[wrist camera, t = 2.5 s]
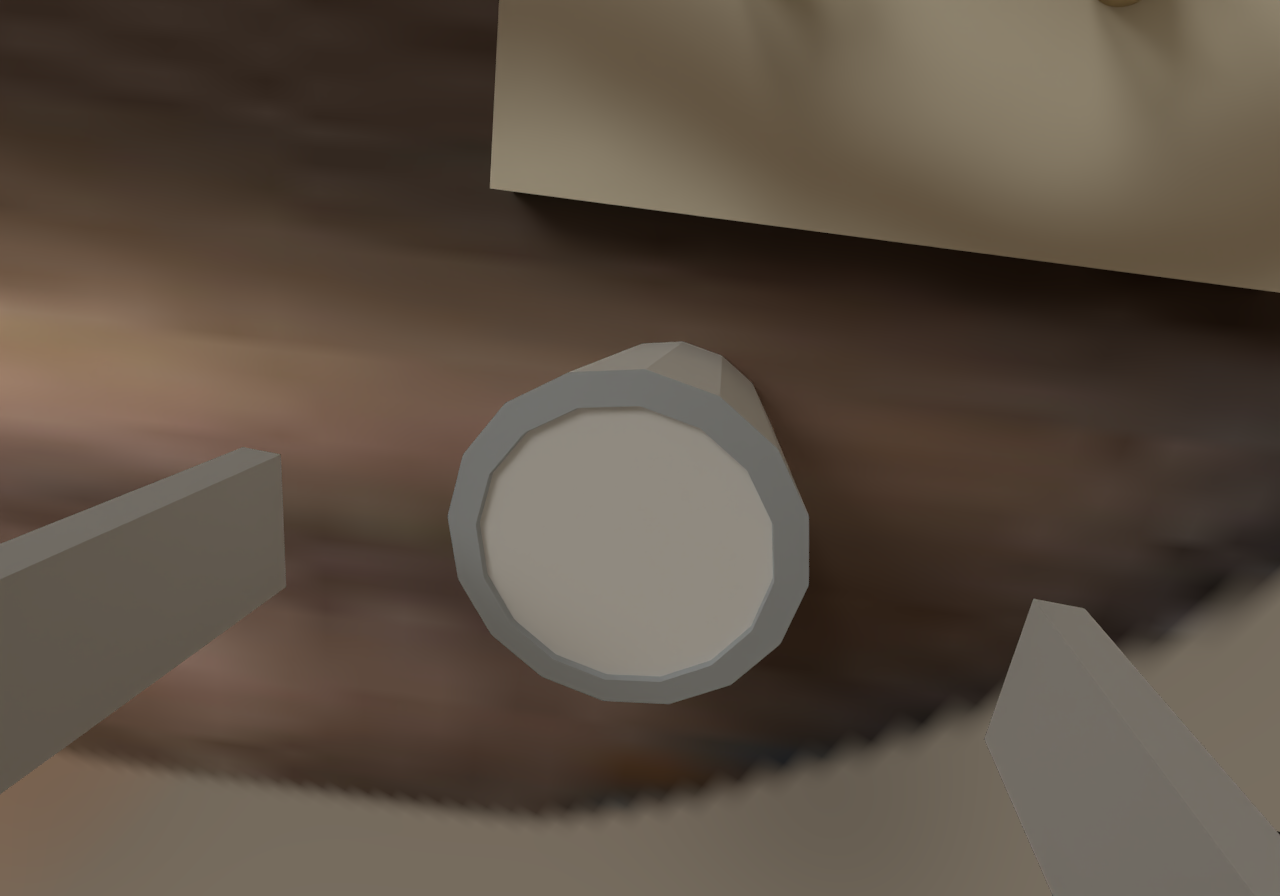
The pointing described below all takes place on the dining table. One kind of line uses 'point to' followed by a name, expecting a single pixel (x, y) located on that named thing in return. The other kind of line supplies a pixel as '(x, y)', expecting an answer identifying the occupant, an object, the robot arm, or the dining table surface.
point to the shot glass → (633, 527)
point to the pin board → (915, 122)
